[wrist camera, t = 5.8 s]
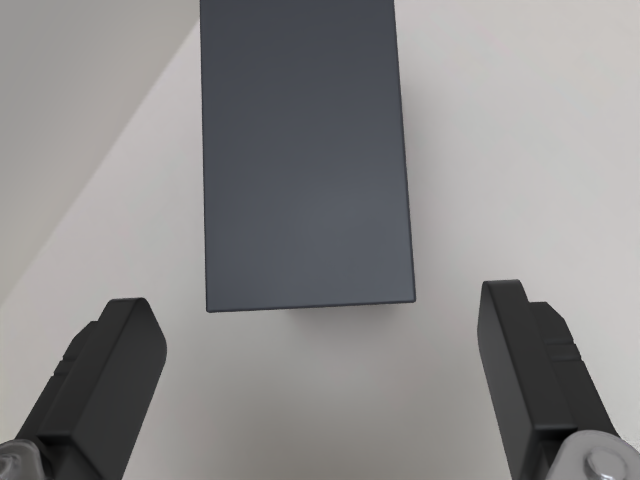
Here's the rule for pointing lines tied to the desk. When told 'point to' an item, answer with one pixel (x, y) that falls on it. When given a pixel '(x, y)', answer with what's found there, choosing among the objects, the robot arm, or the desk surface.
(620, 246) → the desk surface
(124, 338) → the robot arm
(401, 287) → the block
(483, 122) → the desk surface
